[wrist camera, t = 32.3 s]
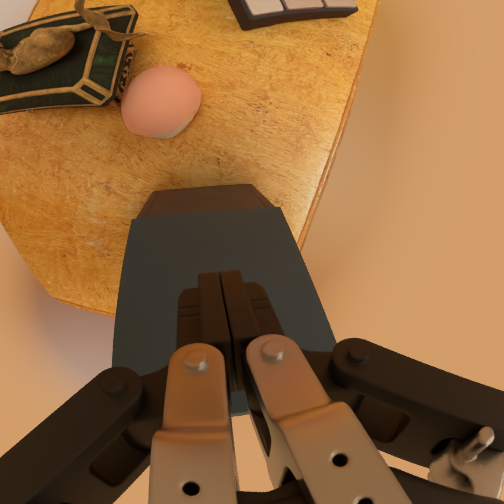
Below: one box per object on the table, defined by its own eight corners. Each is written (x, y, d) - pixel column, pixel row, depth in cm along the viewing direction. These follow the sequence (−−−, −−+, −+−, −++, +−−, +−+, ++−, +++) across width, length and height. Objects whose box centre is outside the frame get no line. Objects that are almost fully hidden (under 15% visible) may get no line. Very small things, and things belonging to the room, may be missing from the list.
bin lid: (347, 391, 12) (353, 386, 11) (117, 421, 10) (111, 418, 9) (278, 214, 22) (280, 206, 21) (133, 226, 20) (131, 218, 19)
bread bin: (252, 283, 37) (272, 335, 28) (167, 291, 35) (162, 347, 26) (251, 183, 32) (278, 209, 22) (153, 191, 29) (133, 221, 20)
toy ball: (140, 149, 27) (123, 155, 20) (123, 89, 24) (102, 77, 17) (208, 127, 28) (212, 125, 21) (191, 66, 24) (191, 45, 17)
